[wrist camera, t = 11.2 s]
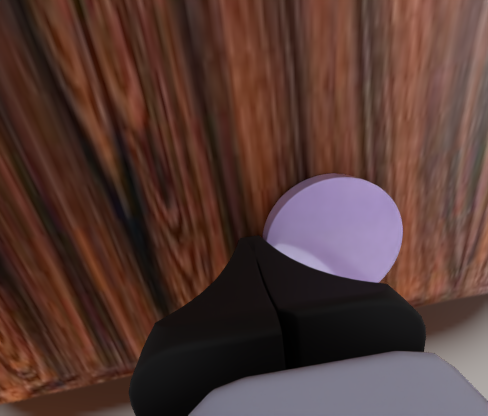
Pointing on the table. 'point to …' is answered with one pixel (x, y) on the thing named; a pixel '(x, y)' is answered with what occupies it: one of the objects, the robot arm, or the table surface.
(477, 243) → the table surface
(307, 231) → the purple disc
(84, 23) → the table surface
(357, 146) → the table surface
